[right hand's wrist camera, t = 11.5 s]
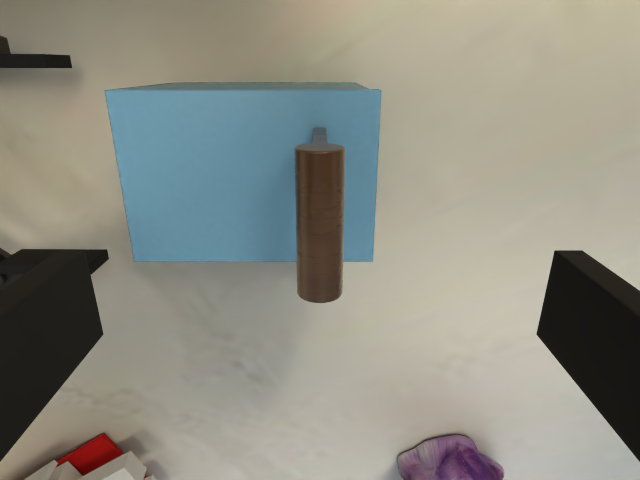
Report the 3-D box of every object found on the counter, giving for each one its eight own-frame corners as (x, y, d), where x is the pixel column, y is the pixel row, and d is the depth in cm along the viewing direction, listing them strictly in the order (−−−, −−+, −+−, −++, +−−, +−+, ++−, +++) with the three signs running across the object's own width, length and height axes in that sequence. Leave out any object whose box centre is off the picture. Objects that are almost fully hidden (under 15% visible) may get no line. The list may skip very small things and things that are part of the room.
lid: (379, 89, 23) (411, 101, 15) (371, 256, 27) (393, 338, 19) (111, 89, 23) (-1, 101, 15) (139, 256, 27) (61, 339, 19)
